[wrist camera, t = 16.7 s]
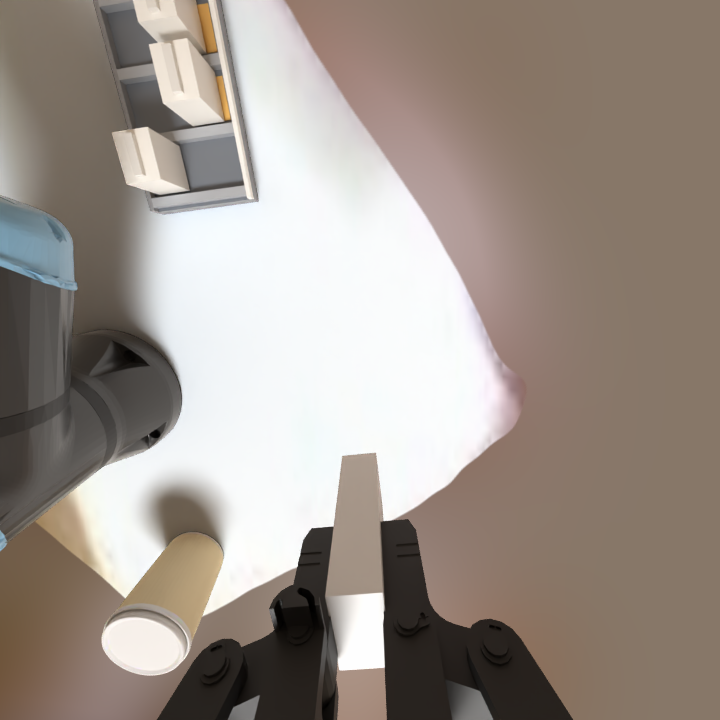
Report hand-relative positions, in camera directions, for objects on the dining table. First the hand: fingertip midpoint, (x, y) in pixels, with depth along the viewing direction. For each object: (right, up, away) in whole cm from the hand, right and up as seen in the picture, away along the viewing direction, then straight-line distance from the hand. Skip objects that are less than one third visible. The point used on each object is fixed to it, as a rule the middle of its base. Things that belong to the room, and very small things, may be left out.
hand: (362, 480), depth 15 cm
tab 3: (-18, +23, +17) cm, 34 cm away
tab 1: (-15, +34, +14) cm, 40 cm away
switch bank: (-17, +29, +17) cm, 38 cm away
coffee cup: (-23, -22, +33) cm, 45 cm away
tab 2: (-14, +29, +15) cm, 36 cm away
